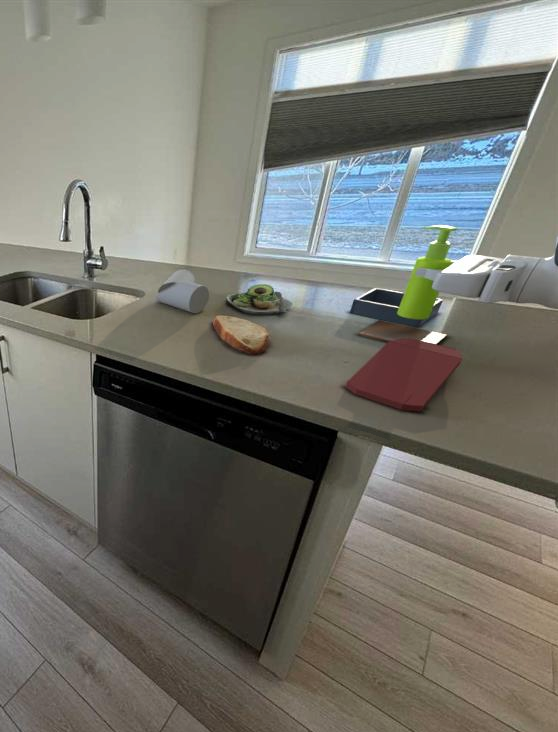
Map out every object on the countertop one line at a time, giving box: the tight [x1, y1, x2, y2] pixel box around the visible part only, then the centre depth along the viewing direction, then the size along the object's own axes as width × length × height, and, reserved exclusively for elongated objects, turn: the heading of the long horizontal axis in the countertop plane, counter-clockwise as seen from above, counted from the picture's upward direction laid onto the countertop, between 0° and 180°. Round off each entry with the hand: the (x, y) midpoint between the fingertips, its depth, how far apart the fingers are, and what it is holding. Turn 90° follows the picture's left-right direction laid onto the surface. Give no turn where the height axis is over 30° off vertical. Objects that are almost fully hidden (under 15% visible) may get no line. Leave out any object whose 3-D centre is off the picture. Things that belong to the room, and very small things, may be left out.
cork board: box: [357, 319, 448, 345], centre depth 99 cm, size 14×12×1 cm
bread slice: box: [212, 315, 272, 355], centre depth 105 cm, size 18×18×4 cm
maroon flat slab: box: [345, 338, 463, 412], centre depth 82 cm, size 12×5×25 cm
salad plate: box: [225, 283, 294, 316], centre depth 122 cm, size 19×18×5 cm
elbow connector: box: [155, 269, 210, 314], centre depth 130 cm, size 18×11×20 cm
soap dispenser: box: [397, 224, 458, 319], centre depth 91 cm, size 6×7×20 cm
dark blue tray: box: [349, 287, 444, 328], centre depth 110 cm, size 16×14×4 cm
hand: (422, 267), depth 91 cm, fingers closed on soap dispenser, 6 cm apart
